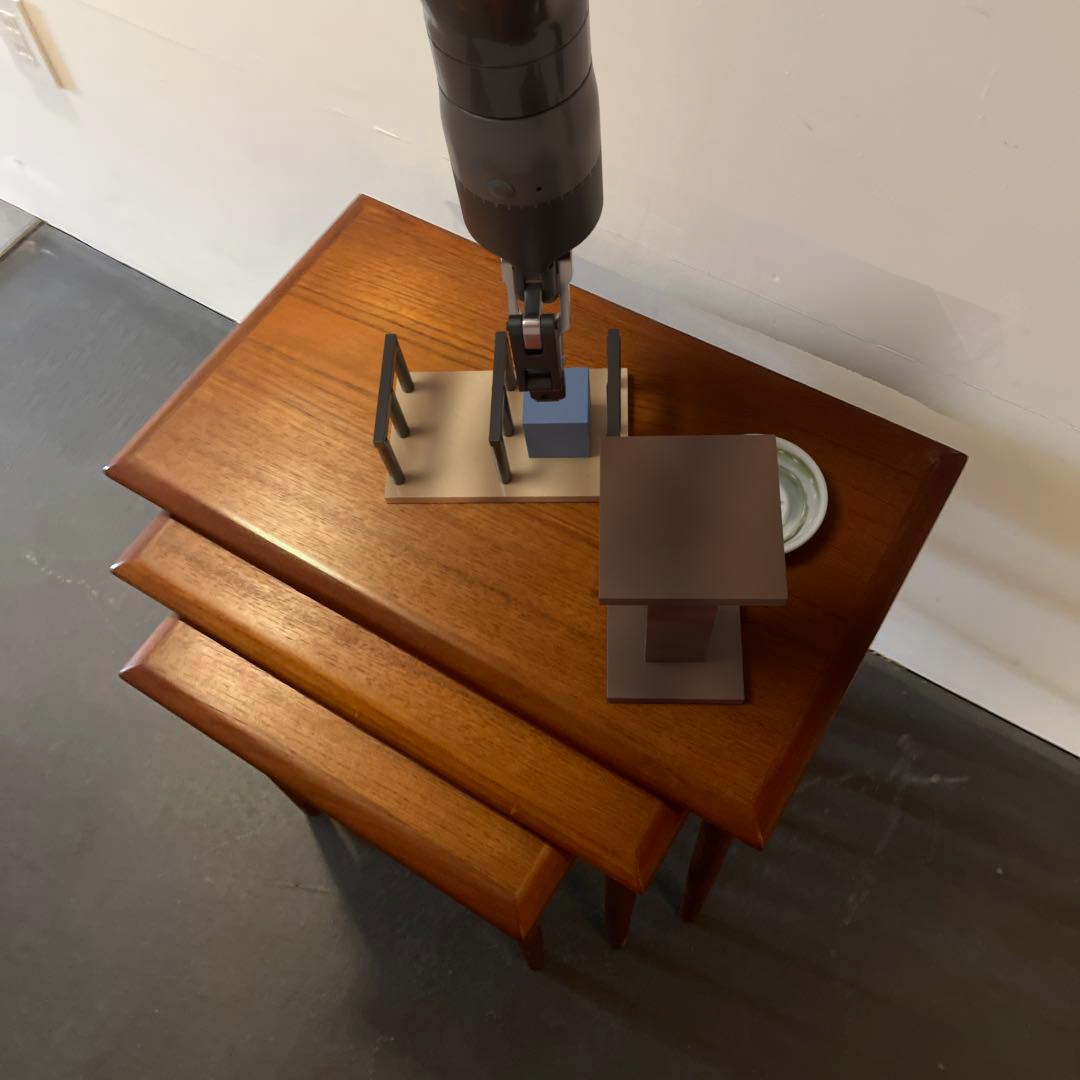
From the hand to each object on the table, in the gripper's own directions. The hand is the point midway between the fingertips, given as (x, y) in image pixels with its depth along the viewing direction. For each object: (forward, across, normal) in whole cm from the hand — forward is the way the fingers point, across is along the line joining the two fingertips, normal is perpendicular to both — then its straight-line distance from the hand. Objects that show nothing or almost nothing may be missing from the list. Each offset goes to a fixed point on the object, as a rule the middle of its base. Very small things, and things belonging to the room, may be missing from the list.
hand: (550, 338), depth 62 cm
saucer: (+13, -6, -14) cm, 20 cm away
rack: (+13, 0, +4) cm, 13 cm away
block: (+12, 0, 0) cm, 12 cm away
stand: (+13, -16, -8) cm, 22 cm away
